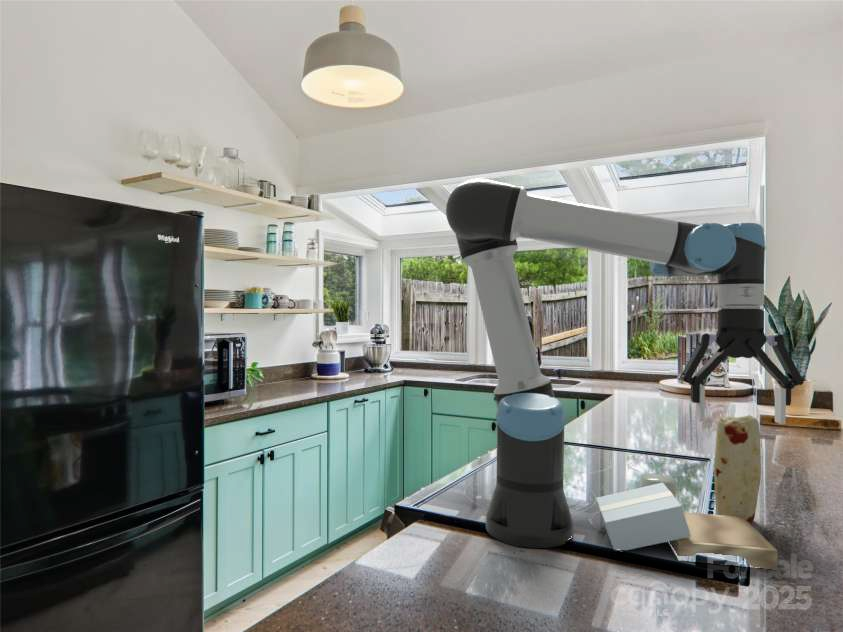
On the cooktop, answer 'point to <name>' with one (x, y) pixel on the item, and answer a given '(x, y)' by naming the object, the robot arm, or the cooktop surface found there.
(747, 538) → the tan square plate
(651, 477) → the pale green rounded knob
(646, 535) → the flat box
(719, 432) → the food model
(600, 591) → the cooktop surface
